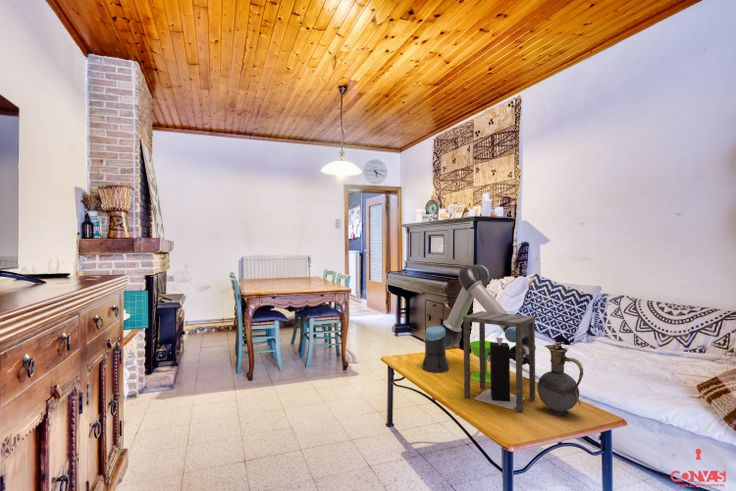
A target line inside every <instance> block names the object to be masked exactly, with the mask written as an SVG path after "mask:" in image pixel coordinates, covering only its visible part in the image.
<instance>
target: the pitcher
mask: <svg viewBox="0 0 736 491" xmlns="http://www.w3.org/2000/svg"><path fill="white" fill-rule="evenodd" d="M564 344H565V342H564V341H559V342H554V344H547V345H544V348H547V349H548V350H549V352H550V363H551V364H550V366H551V367H550V368H551V370H550V371H547V372H545V373H543V374H542V375H541V376H540V378H539V379H538V381H537V385H536V386H537V394H538V396H539V399H540V401H541V402H542V403H543V404H544V405H545V406H547V411H548V412H549V413H551V414H552V415H555V416H559V417H565V416H568V415H569V410H572V409H573V408H574V407H575V406H576V405H577V404H579V406H580V407H581V404H582V403H581V402H580V401H581V399H580V390H579V385H580V383H581V382H582V378H583V376H584V367H583V365H582V363H581V362H580V361H579V360H578V359H576V358H574V357H567V356H566V353H567V352H568V351H569V349H568V348H567V347H563V346H562V345H564ZM567 362H571V363H574V364H575V365H577V367H578V369H579V375H578V379H577V382H576V379H574V378H573V377H572V376H571V375H569V374H567V373H566V372H565V364H566V363H567Z"/></svg>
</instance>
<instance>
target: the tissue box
mask: <svg viewBox="0 0 736 491" xmlns="http://www.w3.org/2000/svg"><path fill="white" fill-rule="evenodd" d="M503 340H504V337H498V336H497V337H496V341H495V342H494V341H491V342H490V362H489V363H490V366H489V367H490V370H489V372H490V382H491V383H490V389H491V398H492V400H496V401H510V394H511V373H510V372H511V367H510V365H511V363H510V361H511V359H510V349H511V346H510V345H509V343H508V342H503Z"/></svg>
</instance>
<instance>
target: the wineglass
mask: <svg viewBox="0 0 736 491" xmlns="http://www.w3.org/2000/svg"><path fill="white" fill-rule="evenodd" d="M490 342H492V341H489V340H485V384H486V383H488V384H491V382H490V371H488V356H489V352H490ZM470 350H471V352H472V353H473V355H475V356H476V357H477V358H478V359H480V341H479V340H474V341H470ZM470 377H471V378H472V379H471V378H470V379H471V380H473V381H475V382H479V383H480V371H474V372H472V373H470Z"/></svg>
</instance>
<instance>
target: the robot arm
mask: <svg viewBox="0 0 736 491" xmlns="http://www.w3.org/2000/svg"><path fill="white" fill-rule="evenodd" d="M458 271H459V272H458V273H457V274H458V275H457V276H458V278H457V279H458V281H459V284H460V285H461V290H460V291H459V294H458V296H457V298H456V300H455V303H454V304H453V306H452V308H451V311H450V313H449V315H448V317H447V319H446V320H443V322H442V324H441V326H439V325H438V326H437V325H436V326H429V327H427V328H426V330H425V331H424V332H425V333H424V342H425V343H424V345H425V346H424V347H425V348H424V349H425V350H424V352H425V354H424V357H423V360H422V361H423V362H422V365H421V366H422V369H423V370H424V369H425V370H424V371H426V370H427V372H429V371H431V372H430V373H445V372H447V370H448V371H449V369H450V364H449V361H448V359H447V356H446V351H447V350H446V348H448V347H451V346H455V345H457V344H459V342H460V341H461V338H462V331H463V330H462V329H463V328H462V327H461V326H462V324H463V323H464V321H463V316H467V315H468V312H469V310H470V307H471V305H472V303H473V301H474V300H476V301H477V302H478V303H479V305H480V306H482V308H483V309H484V311H485V312H494V313H504V314H509V313H508V312H507V311H506V309H504V307H503V306H502V305H501V304H500V303H499V302H498V300H496V298H495V297H494V296H493V295H492V294H491V293H490V292H489V291H488V289H486V287H485V286H484V285H486V284H487V283H488V282H489V280H490V272H489V270H488V268H487V267H485V266H484V265H482V264H471V265H469V264H468V265H464V266H463V267H462V268H461V269H459V270H458ZM498 326H499V327H500V329H502V331H503V332H504V337H505V340H507V341H508V342H509V343H516V327H509V326H501V325H498ZM536 347H537V346H536V345H535V351H536V349H537V348H536ZM510 360H512V361H514V362H516V344H515V345H513V346H511V347H510ZM487 363H490V352H489V356H488V360H487ZM525 365H528V366H529V324H527V325H525V326H523V327H522V366H525ZM444 371H445V372H444Z"/></svg>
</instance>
